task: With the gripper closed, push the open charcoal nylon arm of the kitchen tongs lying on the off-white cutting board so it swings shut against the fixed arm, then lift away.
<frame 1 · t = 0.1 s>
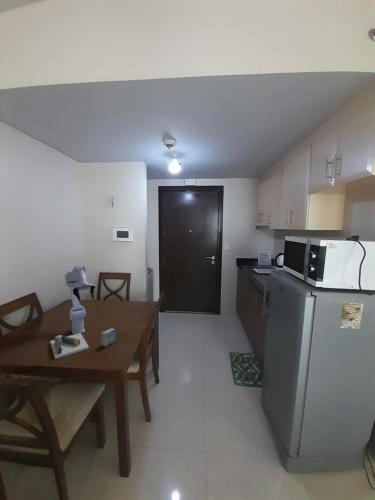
hand: (86, 298, 132), 32 cm above the table, tool tilted 50°, fingers open, 7 cm apart
tongs arm: (67, 340, 136), point 4 cm above the table, hinge at 35.0°
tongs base: (58, 342, 138), resting on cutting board
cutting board: (69, 345, 137), on the table
medicine box: (108, 343, 141), on the table
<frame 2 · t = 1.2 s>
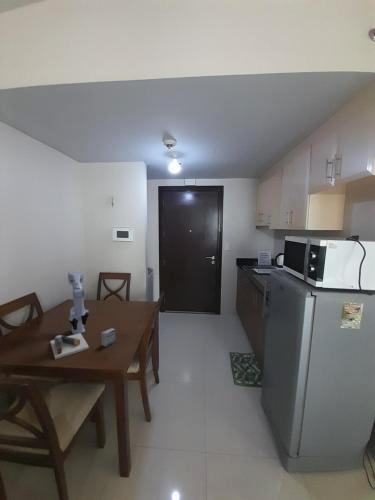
hand: (79, 327, 143), 10 cm above the table, tool pointing down, fingers open, 7 cm apart
nothing on the table moved.
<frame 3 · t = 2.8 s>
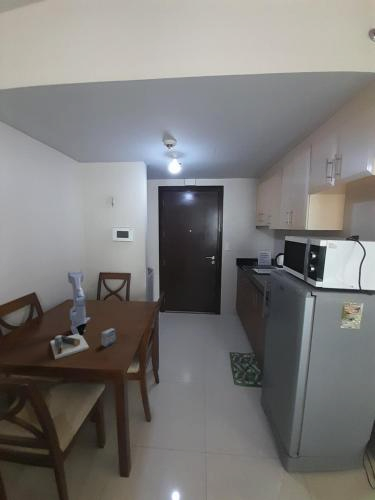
hand: (81, 334, 142), 5 cm above the table, tool pointing down, fingers closed
nothing on the table moved.
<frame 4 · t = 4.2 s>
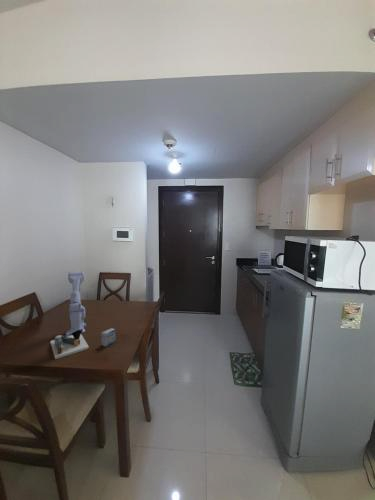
hand: (76, 341, 138), 2 cm above the table, tool pointing down, fingers closed
tongs arm: (67, 340, 136), point 4 cm above the table, hinge at 34.9°, touching gripper
everything else where it was.
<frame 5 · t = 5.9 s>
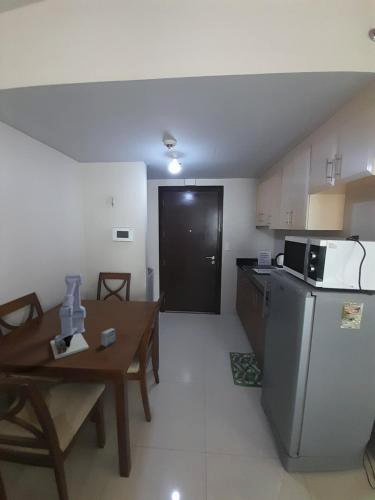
hand: (67, 346, 132), 2 cm above the table, tool pointing down, fingers closed, pressing on tongs arm
tongs arm: (60, 343, 133), point 4 cm above the table, hinge at -1.2°, touching gripper
everything else where it was.
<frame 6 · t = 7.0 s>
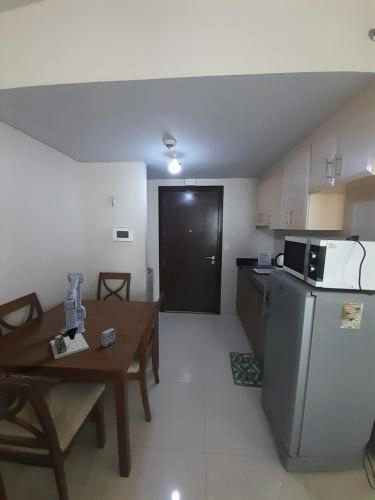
hand: (72, 339, 135), 6 cm above the table, tool pointing down, fingers closed
tongs arm: (60, 343, 133), point 4 cm above the table, hinge at -1.4°
everything else where it was.
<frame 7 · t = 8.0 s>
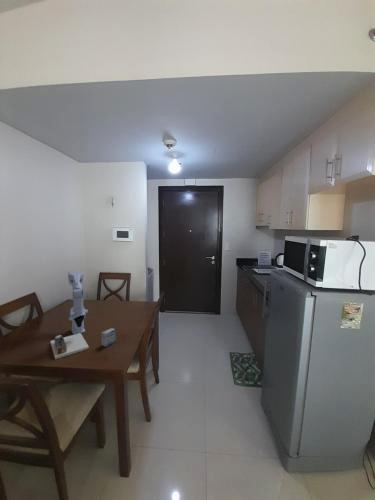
hand: (79, 326, 144), 9 cm above the table, tool pointing down, fingers closed
nothing on the table moved.
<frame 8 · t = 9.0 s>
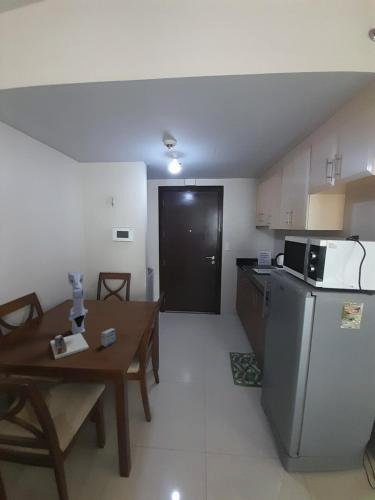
hand: (79, 326, 144), 9 cm above the table, tool pointing down, fingers closed
nothing on the table moved.
at the end: tongs arm at -1° (first picture: +35°); medicine box moved 0.3 cm from its start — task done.
